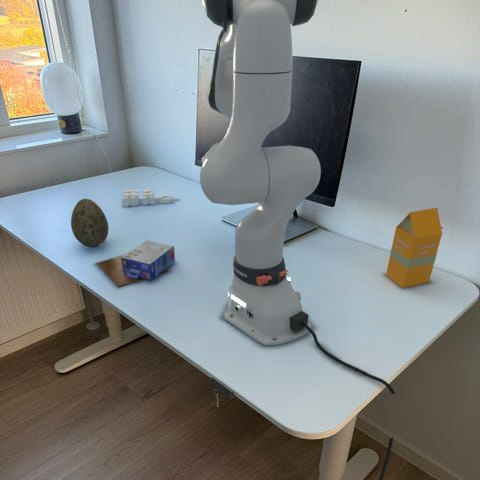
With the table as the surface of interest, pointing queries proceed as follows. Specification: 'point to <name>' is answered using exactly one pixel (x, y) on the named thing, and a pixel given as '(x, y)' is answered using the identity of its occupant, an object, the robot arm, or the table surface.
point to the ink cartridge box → (148, 260)
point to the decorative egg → (89, 223)
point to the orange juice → (415, 248)
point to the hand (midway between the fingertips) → (211, 186)
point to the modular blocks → (148, 198)
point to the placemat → (118, 272)
